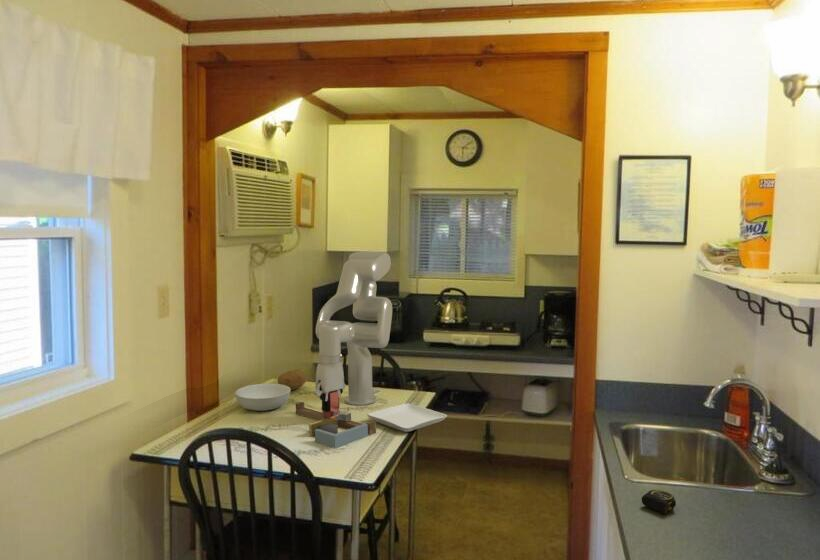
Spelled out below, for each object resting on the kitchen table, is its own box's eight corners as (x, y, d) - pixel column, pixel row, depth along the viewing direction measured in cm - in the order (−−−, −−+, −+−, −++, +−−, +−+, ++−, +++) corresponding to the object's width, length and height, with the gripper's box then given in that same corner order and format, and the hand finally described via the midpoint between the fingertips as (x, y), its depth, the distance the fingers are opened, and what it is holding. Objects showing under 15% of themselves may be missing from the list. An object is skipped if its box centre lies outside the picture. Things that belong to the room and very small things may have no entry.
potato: (271, 391, 269) (271, 372, 269) (295, 384, 281) (295, 366, 280) (287, 395, 264) (287, 376, 263) (311, 387, 275) (311, 369, 274)
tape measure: (639, 507, 160) (640, 493, 160) (656, 500, 164) (656, 486, 164) (664, 517, 154) (664, 502, 154) (680, 510, 158) (681, 496, 158)
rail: (301, 411, 240) (301, 401, 240) (375, 433, 216) (375, 421, 216) (295, 413, 238) (295, 403, 237) (369, 435, 214) (369, 423, 213)
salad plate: (449, 423, 228) (449, 414, 227) (406, 437, 213) (406, 427, 212) (407, 410, 243) (407, 402, 242) (365, 423, 228) (365, 413, 228)
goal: (347, 430, 219) (347, 418, 219) (367, 436, 213) (367, 424, 213) (314, 441, 207) (314, 429, 207) (335, 448, 201) (335, 436, 201)
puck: (329, 430, 218) (329, 422, 218) (341, 434, 215) (341, 425, 214) (316, 435, 214) (316, 426, 213) (328, 439, 210) (328, 430, 210)
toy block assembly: (331, 418, 231) (330, 389, 230) (352, 424, 224) (352, 394, 223) (294, 430, 218) (294, 399, 217) (316, 437, 211) (316, 405, 210)
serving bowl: (224, 412, 240) (223, 394, 240) (257, 398, 260) (256, 381, 259) (270, 418, 233) (270, 400, 232) (301, 403, 252) (300, 386, 251)
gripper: (340, 354, 235) (341, 402, 236) (304, 361, 222) (305, 412, 224) (354, 356, 230) (355, 406, 231) (319, 364, 217) (319, 417, 219)
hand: (330, 409), depth 227 cm, fingers closed on toy block assembly, 4 cm apart
